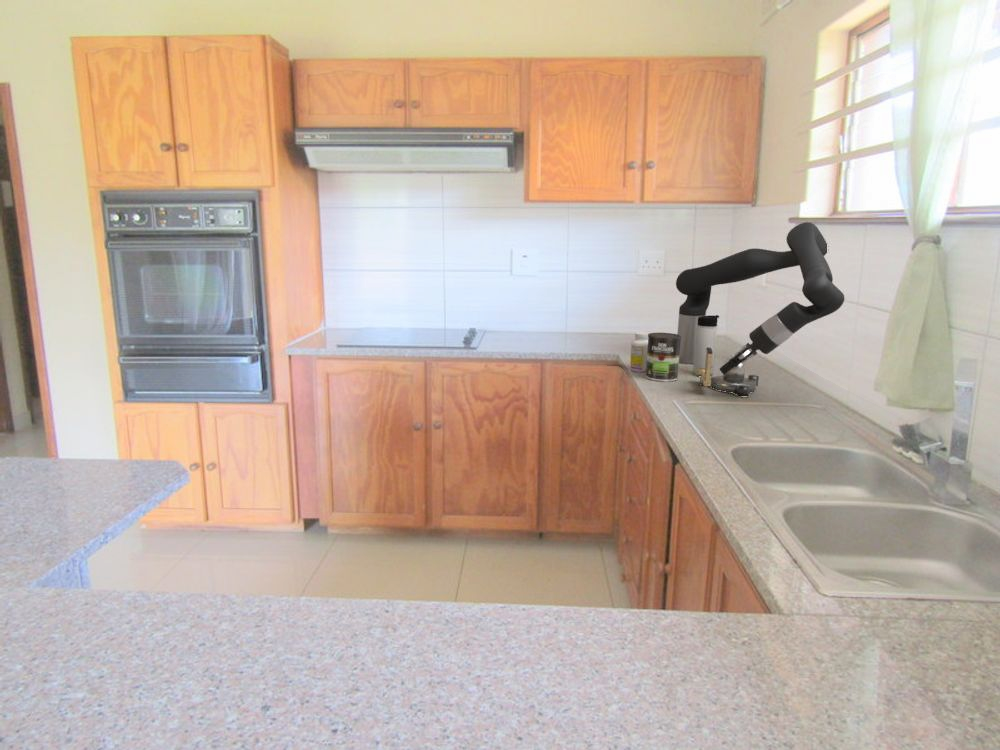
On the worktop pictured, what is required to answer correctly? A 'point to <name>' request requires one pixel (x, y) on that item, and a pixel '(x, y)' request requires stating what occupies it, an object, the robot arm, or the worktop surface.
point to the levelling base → (731, 386)
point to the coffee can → (663, 357)
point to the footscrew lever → (706, 369)
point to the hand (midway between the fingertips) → (722, 371)
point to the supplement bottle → (639, 352)
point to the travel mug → (705, 341)
